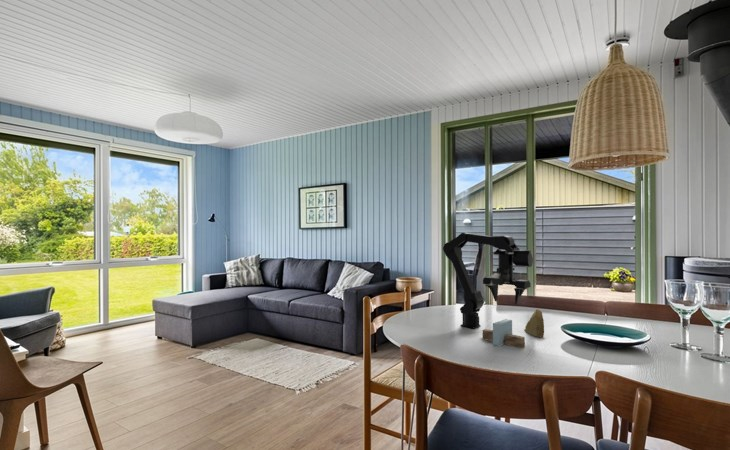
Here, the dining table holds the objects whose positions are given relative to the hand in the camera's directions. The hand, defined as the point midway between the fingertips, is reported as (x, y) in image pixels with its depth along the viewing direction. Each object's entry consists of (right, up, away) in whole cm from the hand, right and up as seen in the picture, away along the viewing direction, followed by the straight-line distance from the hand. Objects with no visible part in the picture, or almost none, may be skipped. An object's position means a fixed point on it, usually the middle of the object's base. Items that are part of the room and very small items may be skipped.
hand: (506, 302), depth 162 cm
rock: (+11, -13, -3) cm, 17 cm away
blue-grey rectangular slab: (-6, -13, -14) cm, 20 cm away
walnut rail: (-6, -13, -14) cm, 20 cm away
